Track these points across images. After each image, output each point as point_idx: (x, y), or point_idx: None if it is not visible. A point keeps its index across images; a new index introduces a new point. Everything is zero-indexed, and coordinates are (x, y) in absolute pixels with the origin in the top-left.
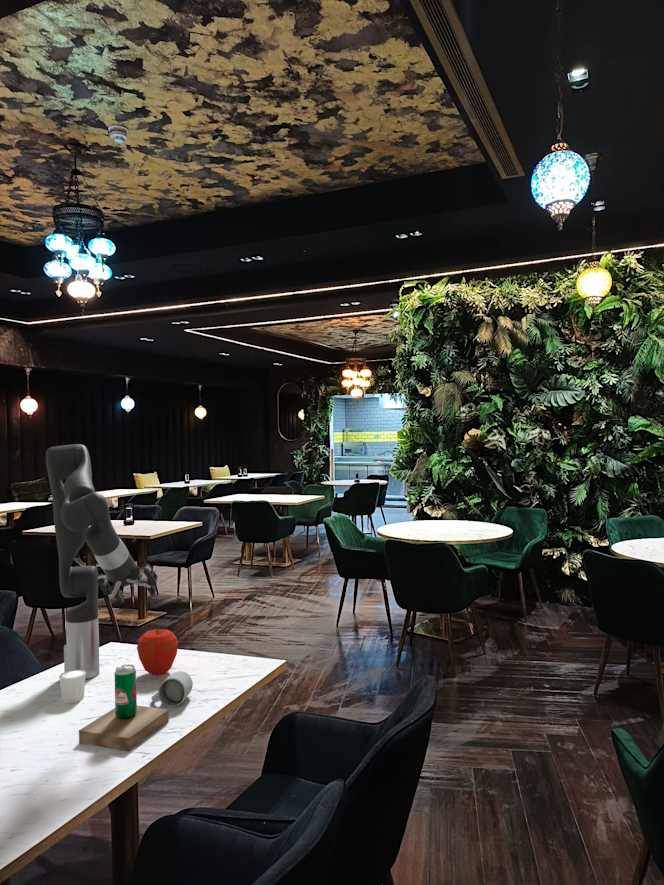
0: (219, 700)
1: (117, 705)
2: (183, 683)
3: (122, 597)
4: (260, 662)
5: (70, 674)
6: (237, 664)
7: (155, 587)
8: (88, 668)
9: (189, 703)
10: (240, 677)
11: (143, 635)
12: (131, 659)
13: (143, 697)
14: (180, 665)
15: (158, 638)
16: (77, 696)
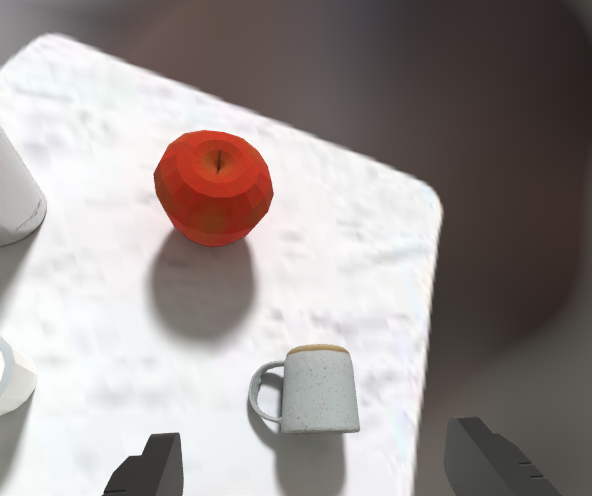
0: (400, 386)
1: None
2: (358, 425)
3: (172, 493)
4: (405, 189)
5: None
6: (366, 193)
7: (527, 461)
8: (9, 225)
9: None
10: (396, 260)
11: (175, 169)
12: (117, 131)
13: (217, 369)
14: None
15: (233, 200)
16: (16, 404)
